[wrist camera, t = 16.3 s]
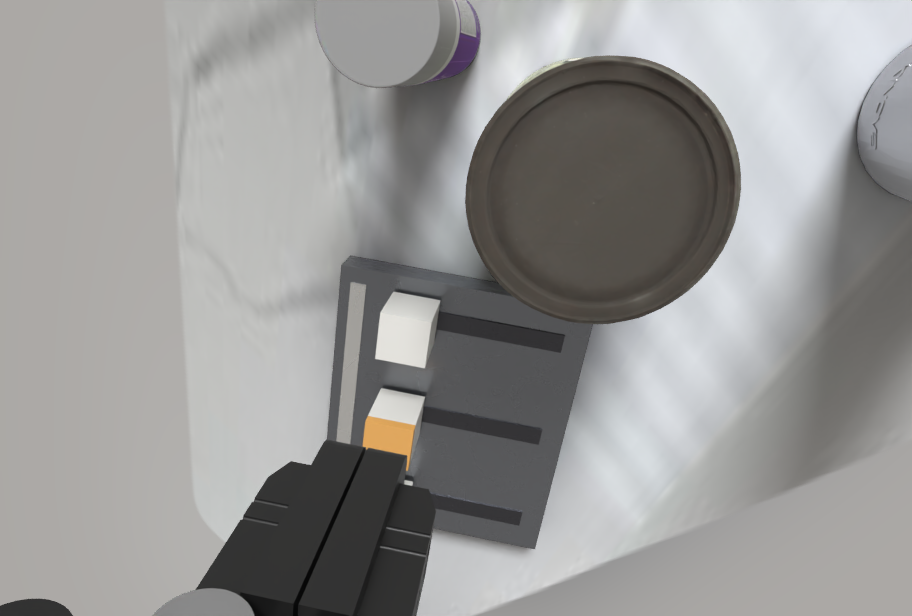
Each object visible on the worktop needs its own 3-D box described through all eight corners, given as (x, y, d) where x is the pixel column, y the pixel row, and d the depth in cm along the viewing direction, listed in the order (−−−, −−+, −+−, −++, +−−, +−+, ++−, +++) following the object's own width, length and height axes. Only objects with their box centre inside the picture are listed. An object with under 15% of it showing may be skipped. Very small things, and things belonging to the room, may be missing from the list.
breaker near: (440, 300, 39) (431, 322, 36) (433, 343, 40) (424, 368, 37) (393, 291, 39) (380, 312, 36) (388, 334, 40) (375, 358, 37)
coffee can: (617, 261, 39) (657, 362, 26) (464, 196, 39) (427, 267, 26) (703, 99, 35) (800, 124, 22) (533, 26, 35) (530, 7, 22)
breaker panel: (593, 300, 40) (596, 312, 38) (534, 530, 47) (534, 550, 45) (350, 255, 41) (341, 265, 39) (329, 487, 48) (321, 505, 46)
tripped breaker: (425, 396, 42) (413, 430, 38) (419, 434, 43) (407, 470, 39) (381, 388, 42) (365, 421, 38) (376, 425, 43) (360, 461, 39)
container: (425, 94, 37) (356, 116, 23) (383, 17, 35) (284, -8, 22) (495, 51, 35) (468, 47, 22) (455, -30, 34) (398, -89, 20)
